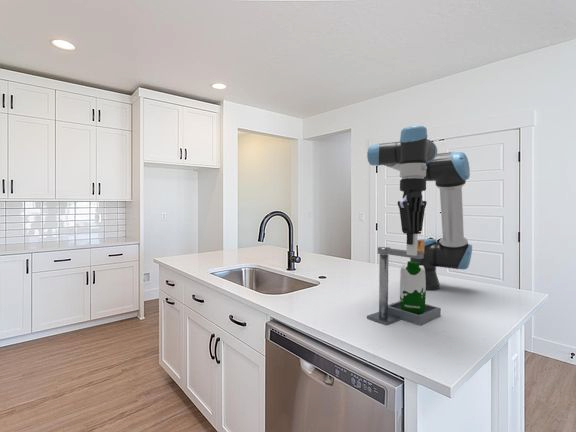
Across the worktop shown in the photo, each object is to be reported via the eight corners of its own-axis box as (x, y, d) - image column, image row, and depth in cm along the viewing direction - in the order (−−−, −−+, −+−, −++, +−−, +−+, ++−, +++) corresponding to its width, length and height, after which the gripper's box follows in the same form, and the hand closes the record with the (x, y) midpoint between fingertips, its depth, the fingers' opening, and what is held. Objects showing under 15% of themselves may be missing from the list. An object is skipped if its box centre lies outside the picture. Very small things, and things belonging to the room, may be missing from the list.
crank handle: (374, 253, 113) (375, 236, 113) (382, 252, 116) (382, 235, 116) (419, 260, 100) (420, 241, 100) (427, 258, 102) (427, 240, 102)
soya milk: (399, 317, 115) (400, 262, 114) (399, 309, 124) (400, 258, 123) (426, 320, 112) (427, 264, 111) (424, 312, 121) (425, 259, 120)
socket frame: (384, 313, 119) (384, 305, 119) (405, 306, 128) (405, 298, 128) (419, 325, 108) (420, 316, 108) (440, 316, 117) (440, 307, 117)
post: (367, 318, 114) (367, 254, 113) (380, 313, 119) (381, 252, 118) (386, 325, 108) (387, 257, 107) (399, 319, 113) (400, 255, 112)
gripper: (412, 176, 91) (411, 258, 92) (435, 178, 99) (434, 254, 100) (389, 178, 97) (388, 255, 98) (412, 179, 105) (411, 251, 106)
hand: (411, 254), depth 99 cm, fingers closed
